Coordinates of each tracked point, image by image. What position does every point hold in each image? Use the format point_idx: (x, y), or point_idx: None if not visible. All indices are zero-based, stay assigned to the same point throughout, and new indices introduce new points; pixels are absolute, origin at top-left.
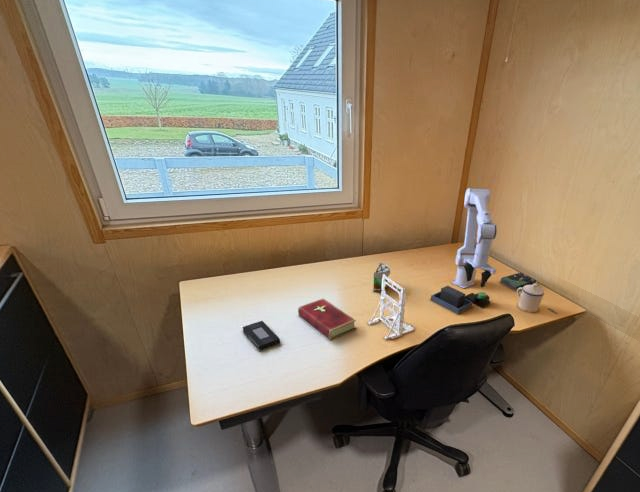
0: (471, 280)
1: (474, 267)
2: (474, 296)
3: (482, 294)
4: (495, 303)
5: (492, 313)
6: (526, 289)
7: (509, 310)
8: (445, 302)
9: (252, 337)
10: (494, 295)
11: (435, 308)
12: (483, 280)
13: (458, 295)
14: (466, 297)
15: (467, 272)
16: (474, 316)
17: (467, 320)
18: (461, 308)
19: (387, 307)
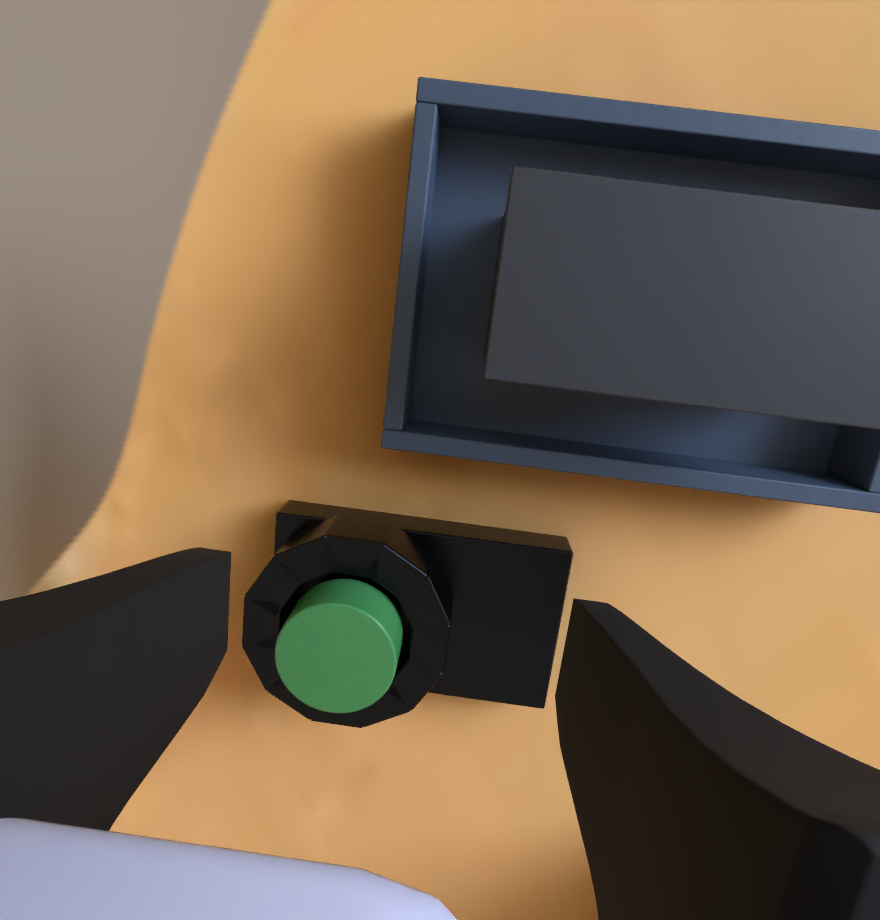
0: None
1: (75, 839)
2: (428, 573)
3: (327, 641)
4: (245, 703)
5: (146, 477)
6: None
7: None
8: (690, 117)
9: None
10: (346, 850)
11: (756, 8)
12: (15, 601)
13: (556, 221)
14: (538, 548)
15: (714, 716)
16: (250, 245)
17: (256, 74)
18: (411, 155)
19: None
